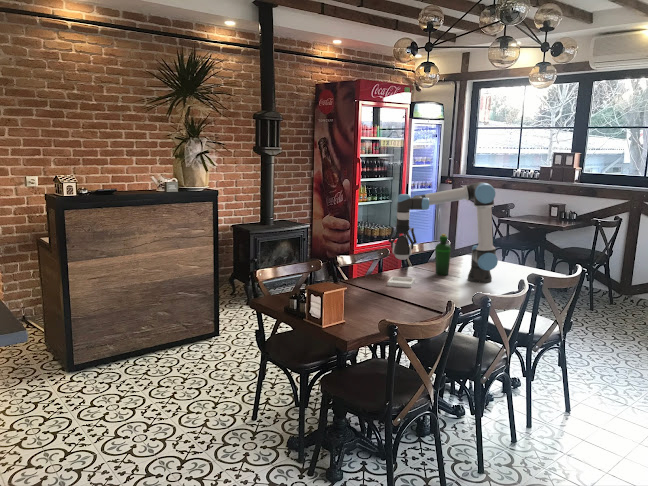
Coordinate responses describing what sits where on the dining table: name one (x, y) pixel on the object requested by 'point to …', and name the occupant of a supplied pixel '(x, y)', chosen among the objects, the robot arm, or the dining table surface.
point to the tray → (401, 282)
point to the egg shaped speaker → (402, 248)
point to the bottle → (442, 256)
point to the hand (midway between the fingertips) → (402, 253)
